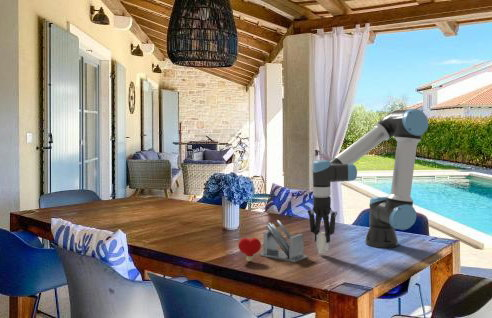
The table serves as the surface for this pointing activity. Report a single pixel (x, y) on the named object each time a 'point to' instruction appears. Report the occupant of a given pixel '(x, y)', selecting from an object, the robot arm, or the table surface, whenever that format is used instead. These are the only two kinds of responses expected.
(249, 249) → the red heart on stand
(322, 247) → the peg
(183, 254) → the table surface
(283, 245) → the chute
